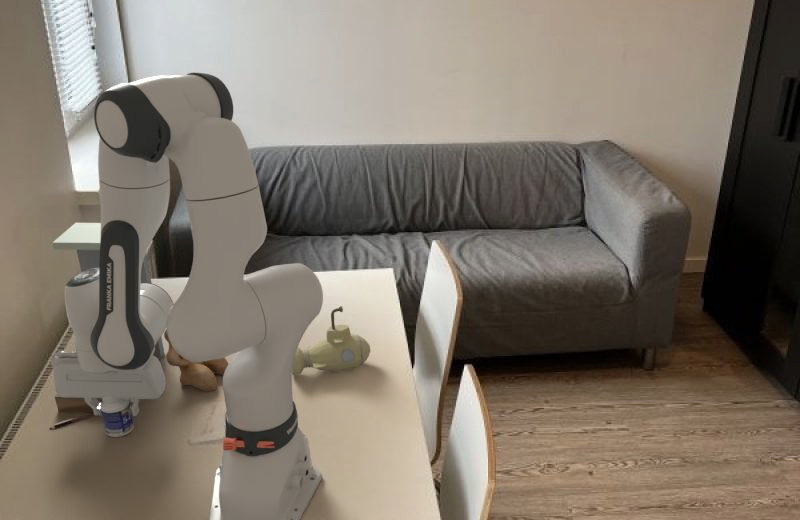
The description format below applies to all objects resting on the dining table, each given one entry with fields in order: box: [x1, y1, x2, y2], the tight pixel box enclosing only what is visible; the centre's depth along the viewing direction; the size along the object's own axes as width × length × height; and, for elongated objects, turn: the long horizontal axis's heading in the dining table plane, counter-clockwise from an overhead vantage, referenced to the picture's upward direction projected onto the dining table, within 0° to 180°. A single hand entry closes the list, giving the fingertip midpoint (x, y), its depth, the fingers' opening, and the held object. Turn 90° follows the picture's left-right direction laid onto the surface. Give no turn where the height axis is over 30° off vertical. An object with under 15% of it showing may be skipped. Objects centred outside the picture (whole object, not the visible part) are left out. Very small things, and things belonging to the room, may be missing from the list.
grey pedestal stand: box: [52, 222, 165, 359], centre depth 163 cm, size 10×14×32 cm
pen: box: [49, 412, 96, 430], centre depth 153 cm, size 11×1×1 cm, turn 122°
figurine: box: [163, 328, 229, 392], centre depth 162 cm, size 11×9×15 cm
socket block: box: [54, 393, 134, 413], centre depth 161 cm, size 16×14×4 cm
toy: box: [291, 305, 371, 376], centre depth 163 cm, size 9×17×15 cm, turn 105°
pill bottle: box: [100, 397, 135, 438], centre depth 148 cm, size 5×5×9 cm
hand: (117, 413), depth 148 cm, fingers closed on pill bottle, 5 cm apart
